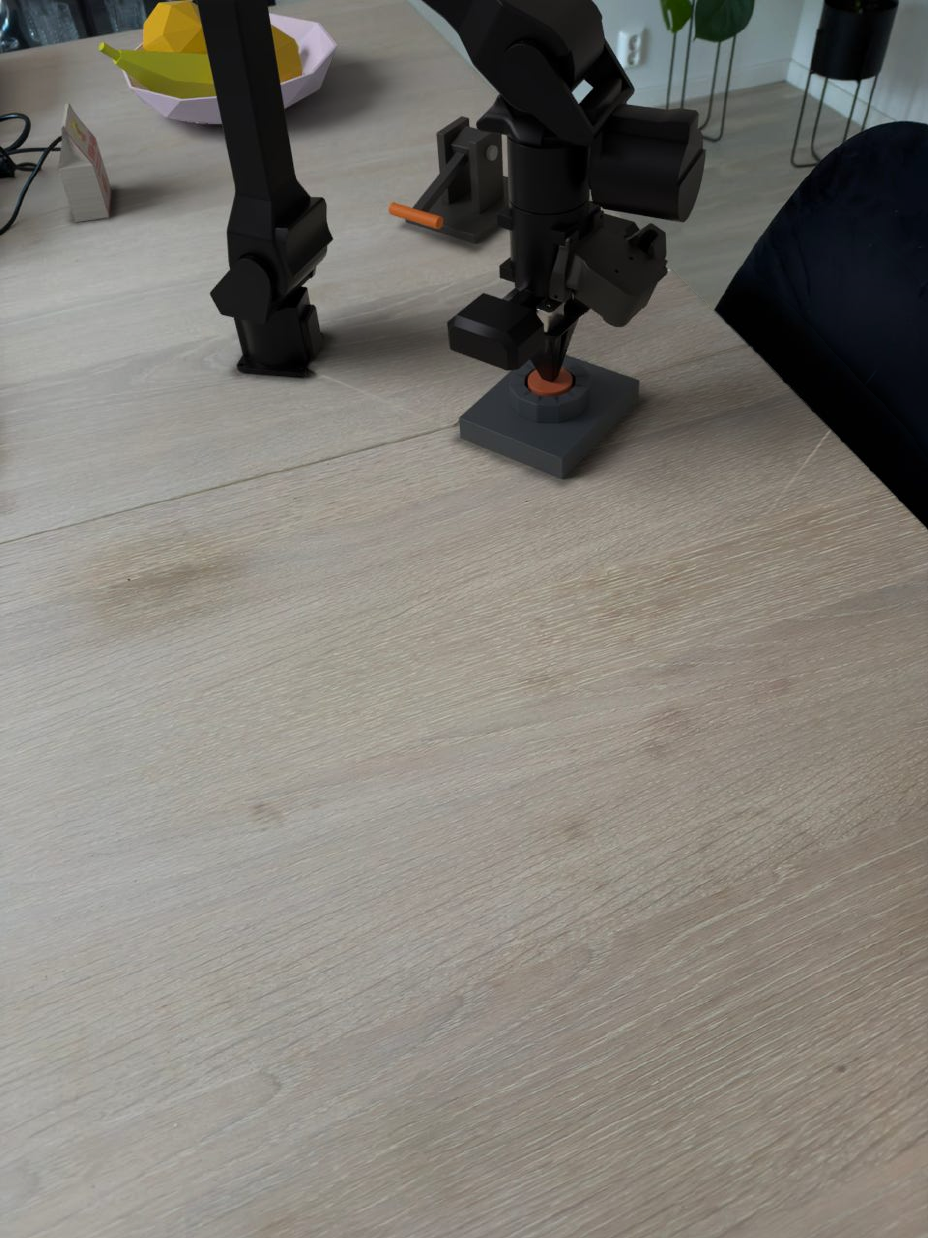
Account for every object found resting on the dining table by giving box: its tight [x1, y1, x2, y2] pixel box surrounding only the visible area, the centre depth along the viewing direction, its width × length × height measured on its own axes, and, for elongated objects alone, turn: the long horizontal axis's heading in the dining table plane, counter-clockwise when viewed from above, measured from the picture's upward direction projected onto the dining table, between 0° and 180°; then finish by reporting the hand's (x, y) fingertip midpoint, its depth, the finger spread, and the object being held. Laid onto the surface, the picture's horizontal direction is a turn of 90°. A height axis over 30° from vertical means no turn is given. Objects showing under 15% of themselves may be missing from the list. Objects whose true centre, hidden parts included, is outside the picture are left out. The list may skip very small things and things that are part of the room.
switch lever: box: [388, 126, 482, 229], centre depth 110 cm, size 12×6×2 cm, turn 144°
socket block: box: [458, 354, 640, 480], centre depth 90 cm, size 12×10×4 cm
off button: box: [528, 368, 572, 396], centre depth 89 cm, size 4×4×2 cm
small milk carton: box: [57, 101, 113, 223], centre depth 119 cm, size 4×7×10 cm, turn 10°
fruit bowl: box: [97, 0, 338, 125], centre depth 135 cm, size 28×27×11 cm
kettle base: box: [404, 115, 509, 245], centre depth 113 cm, size 12×9×9 cm
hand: (549, 378), depth 89 cm, fingers closed, pressing on off button
